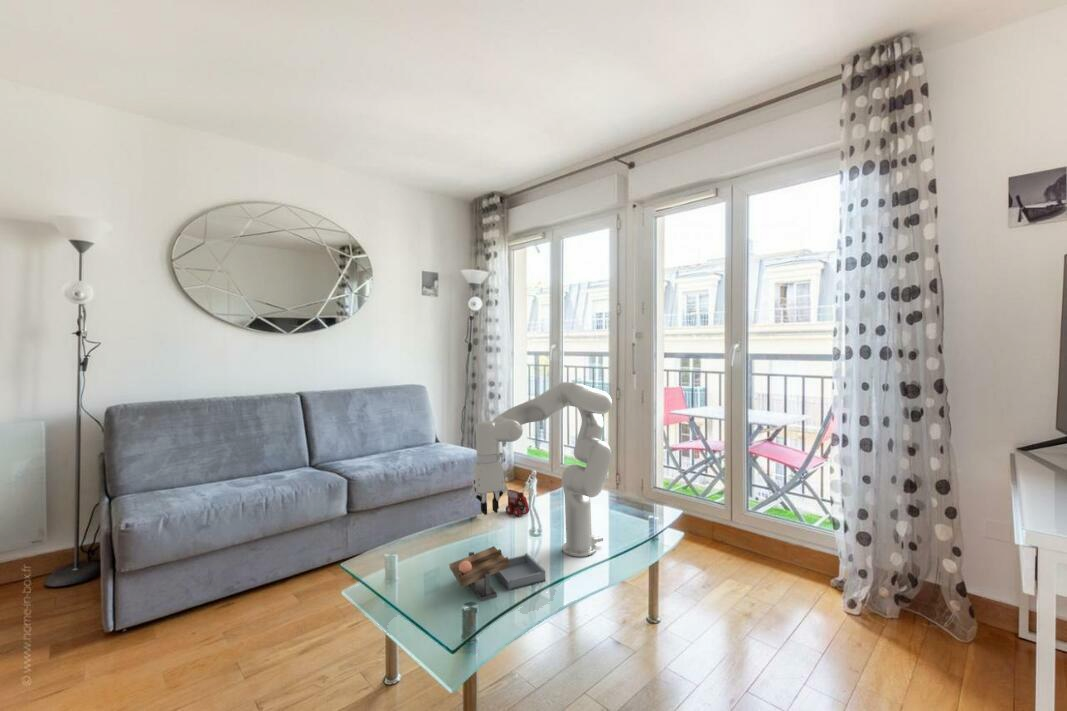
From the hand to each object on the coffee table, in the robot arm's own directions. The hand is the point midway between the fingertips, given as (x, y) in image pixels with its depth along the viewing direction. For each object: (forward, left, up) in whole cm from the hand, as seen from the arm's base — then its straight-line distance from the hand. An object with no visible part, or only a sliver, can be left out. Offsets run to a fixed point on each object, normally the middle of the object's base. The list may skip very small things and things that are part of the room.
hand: (489, 512), depth 159 cm
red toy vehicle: (-30, -51, -22) cm, 63 cm away
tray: (-8, +5, -21) cm, 23 cm away
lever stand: (+6, +5, -21) cm, 23 cm away
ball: (+11, +8, -13) cm, 19 cm away
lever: (+6, +5, -15) cm, 17 cm away
